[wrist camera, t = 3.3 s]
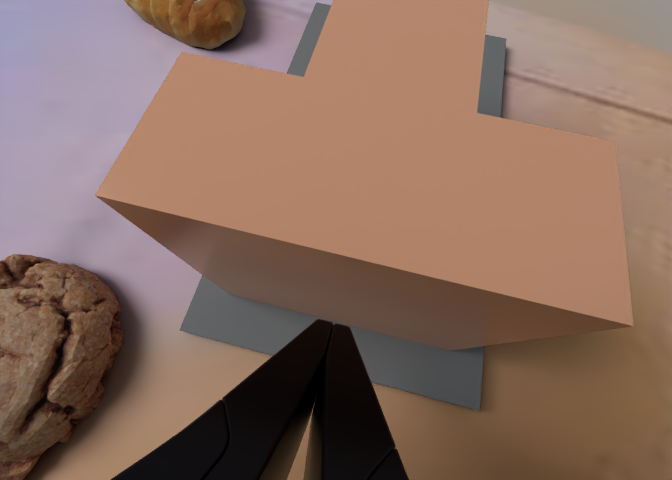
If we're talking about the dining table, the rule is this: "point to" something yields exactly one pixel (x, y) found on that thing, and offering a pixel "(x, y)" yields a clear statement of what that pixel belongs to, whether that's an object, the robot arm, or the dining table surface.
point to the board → (375, 348)
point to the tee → (381, 187)
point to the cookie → (50, 354)
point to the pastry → (193, 19)
